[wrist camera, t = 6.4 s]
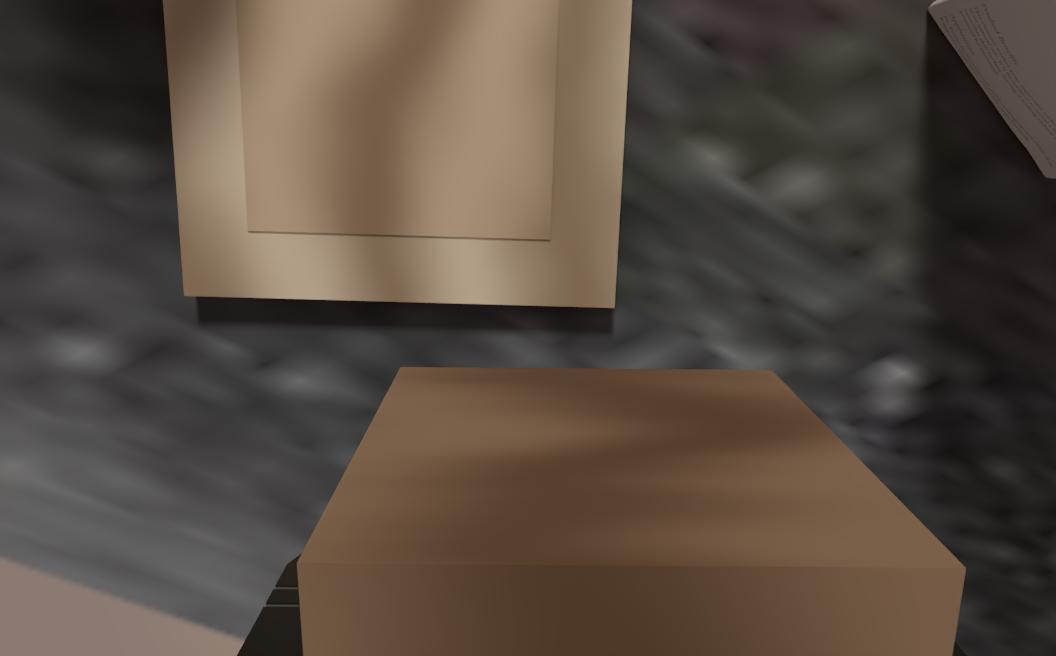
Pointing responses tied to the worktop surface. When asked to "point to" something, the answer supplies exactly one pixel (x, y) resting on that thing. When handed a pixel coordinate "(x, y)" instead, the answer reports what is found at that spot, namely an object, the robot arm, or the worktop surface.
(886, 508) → the walnut cube
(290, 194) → the birch board
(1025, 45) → the skincare box
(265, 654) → the robot arm
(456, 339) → the worktop surface
